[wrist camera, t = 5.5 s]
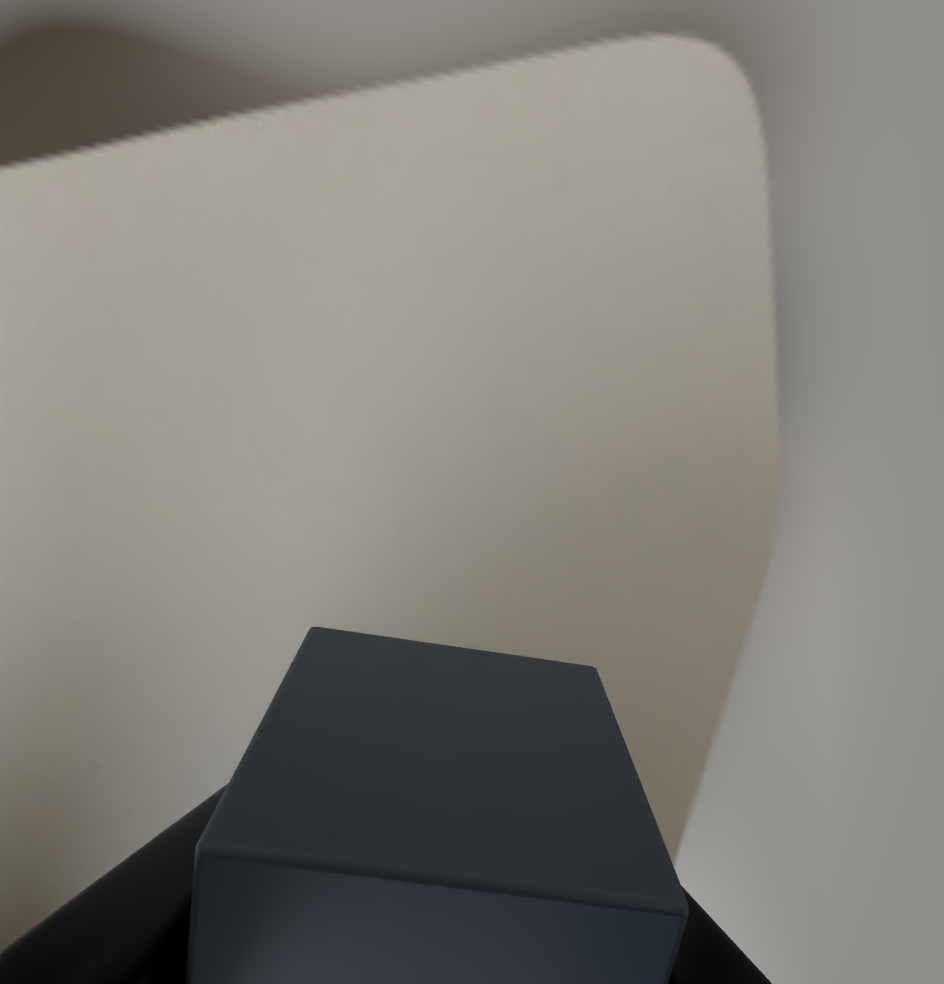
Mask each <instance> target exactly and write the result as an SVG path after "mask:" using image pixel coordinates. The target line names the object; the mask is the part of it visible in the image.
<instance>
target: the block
mask: <svg viewBox="0 0 944 984" xmlns="http://www.w3.org/2000/svg"><path fill="white" fill-rule="evenodd" d="M688 911H689V909H688V903H687V900H686V898H685V895H684V892H683V890H682V887H681V885H680V882H679V880H678V877H677V874H676V872H675V869H674V867H673V864H672V862H671V859H670V856H669V854H668V851H667V849H666V846H665V844H664V841H663V839H662V836H661V833H660V831H659V828H658V826H657V823H656V821H655V818H654V815H653V813H652V810H651V808H650V805H649V803H648V800H647V797H646V795H645V792H644V790H643V787H642V785H641V782H640V779H639V777H638V774H637V772H636V769H635V767H634V764H633V761H632V759H631V756H630V754H629V751H628V749H627V746H626V744H625V741H624V738H623V736H622V733H621V731H620V728H619V726H618V723H617V720H616V718H615V715H614V713H613V710H612V708H611V705H610V702H609V700H608V697H607V695H606V692H605V690H604V687H603V684H602V682H601V679H600V677H599V674H598V672H597V669H596V668H594V667H592V666H587V665H580V664H573V663H566V662H559V661H552V660H545V659H538V658H531V657H524V656H517V655H510V654H503V653H496V652H489V651H482V650H476V649H469V648H462V647H455V646H448V645H441V644H434V643H427V642H420V641H413V640H406V639H399V638H392V637H385V636H378V635H371V634H364V633H357V632H351V631H344V630H337V629H330V628H323V627H312V628H310V629H309V631H308V633H307V635H306V637H305V639H304V640H303V642H302V644H301V646H300V648H299V650H298V652H297V654H296V656H295V658H294V660H293V662H292V663H291V665H290V667H289V669H288V671H287V673H286V675H285V677H284V679H283V681H282V683H281V684H280V686H279V688H278V690H277V692H276V694H275V696H274V698H273V700H272V702H271V704H270V705H269V707H268V709H267V711H266V713H265V715H264V717H263V719H262V721H261V723H260V725H259V726H258V728H257V730H256V732H255V734H254V736H253V738H252V740H251V742H250V744H249V746H248V748H247V749H246V751H245V753H244V755H243V757H242V759H241V761H240V763H239V765H238V767H237V769H236V770H235V772H234V774H233V776H232V778H231V780H230V782H229V784H228V786H227V788H226V790H225V791H224V793H223V795H222V797H221V799H220V801H219V803H218V805H217V807H216V809H215V811H214V813H213V814H212V816H211V818H210V820H209V822H208V824H207V826H206V828H205V830H204V832H203V834H202V835H201V837H200V839H199V841H198V843H197V845H196V848H195V862H194V875H193V888H192V901H191V915H190V928H189V941H188V954H187V967H186V981H185V984H668V983H669V979H670V976H671V973H672V969H673V966H674V962H675V959H676V955H677V952H678V949H679V945H680V942H681V938H682V935H683V931H684V928H685V925H686V921H687V918H688Z"/></svg>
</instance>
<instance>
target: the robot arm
mask: <svg viewBox="0 0 944 984" xmlns="http://www.w3.org/2000/svg"><path fill="white" fill-rule="evenodd" d="M228 784H229V783H228ZM228 784H227V785H225V786H224V787H223V788H221V789H220V790H219V791H217V792H216V793H215V794H213V795H212V796H210V797H209V798H208V799H206V800H205V801H204V802H202V803H201V804H200V805H198V806H197V807H196V808H194V809H193V810H192V811H190V812H189V813H187V814H186V815H185V816H183V817H182V818H181V819H179V820H178V821H177V822H175V823H174V824H173V825H171V826H170V827H169V828H167V829H166V830H164V831H163V832H162V833H160V834H159V835H158V836H156V837H155V838H154V839H152V840H151V841H150V842H148V843H147V844H146V845H144V846H143V847H141V848H140V849H139V850H137V851H136V852H135V853H133V854H132V855H131V856H129V857H128V858H127V859H125V860H124V861H122V862H121V863H120V864H118V865H117V866H116V867H114V868H113V869H112V870H110V871H109V872H108V873H106V874H105V875H104V876H102V877H101V878H99V879H98V880H97V881H95V882H94V883H93V884H91V885H90V886H89V887H87V888H86V889H85V890H83V891H82V892H81V893H79V894H78V895H76V896H75V897H74V898H72V899H71V900H70V901H68V902H67V903H66V904H64V905H63V906H62V907H60V908H59V909H58V910H56V911H55V912H53V913H52V914H51V915H49V916H48V917H47V918H45V919H44V920H43V921H41V922H40V923H39V924H37V925H36V926H35V927H33V928H32V929H30V930H29V931H28V932H26V933H25V934H24V935H22V936H21V937H20V938H18V939H17V940H16V941H14V942H13V943H12V944H10V945H9V946H7V947H6V948H5V949H3V950H2V951H1V952H0V984H185V981H186V967H187V954H188V941H189V928H190V915H191V901H192V888H193V875H194V862H195V848H196V845H197V843H198V841H199V839H200V837H201V835H202V834H203V832H204V830H205V828H206V826H207V824H208V822H209V820H210V818H211V816H212V814H213V813H214V811H215V809H216V807H217V805H218V803H219V801H220V799H221V797H222V795H223V793H224V791H225V790H226V788H227V786H228ZM681 887H682V886H681ZM682 890H683V892H684V895H685V898H686V900H687V903H688V909H689V911H688V918H687V921H686V925H685V928H684V931H683V935H682V938H681V942H680V945H679V949H678V952H677V955H676V959H675V962H674V966H673V969H672V973H671V976H670V979H669V983H668V984H772V983H771V982H770V981H769V980H768V979H767V978H766V977H765V976H764V975H763V973H762V972H761V971H760V970H759V969H758V968H757V967H756V966H755V965H754V964H753V963H752V961H751V960H750V959H749V958H748V957H747V956H746V955H745V954H744V953H743V952H742V951H741V950H740V949H739V948H738V946H736V944H735V943H734V942H733V941H732V940H731V939H730V938H729V937H728V936H727V934H726V933H725V932H724V931H723V930H722V929H721V928H720V927H719V926H718V925H717V924H716V923H715V922H714V921H713V919H712V918H711V917H710V916H709V915H708V914H707V913H706V912H705V911H704V910H703V909H702V908H701V906H700V905H699V904H698V903H697V902H696V901H695V900H694V899H693V898H692V897H691V896H690V895H689V893H687V891H686V890H685V889H684V888H683V887H682Z"/></svg>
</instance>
